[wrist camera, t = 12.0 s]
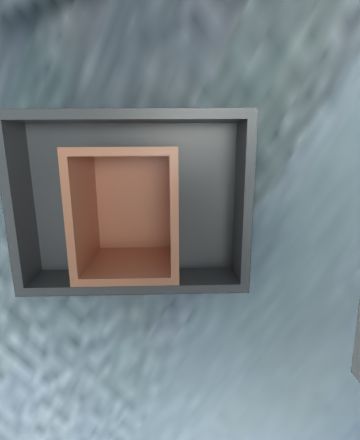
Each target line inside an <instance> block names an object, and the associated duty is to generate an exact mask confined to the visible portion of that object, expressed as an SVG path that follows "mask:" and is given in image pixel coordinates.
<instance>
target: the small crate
mask: <svg viewBox="0 0 360 440" xmlns="http://www.w3.org/2000/svg"><path fill="white" fill-rule="evenodd" d="M57 153H58V164H59V174H60V184H61V195H62V205H63V216H64V226H65V236H66V247H67V257H68V267H69V278H70V287H110V286H169V285H179V175H178V147H177V146H175V147H57Z"/></svg>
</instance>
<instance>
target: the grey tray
mask: <svg viewBox="0 0 360 440" xmlns="http://www.w3.org/2000/svg"><path fill="white" fill-rule="evenodd" d="M257 125H258V108H68V109H0V192H1V199H2V206H3V213H4V220H5V227H6V234H7V242H8V249H9V256H10V263H11V270H12V277H13V284H14V291H15V297H33V296H89V295H146V294H202V293H249V284H250V264H251V244H252V224H253V204H254V185H255V165H256V145H257ZM175 146H177V147H178V175H179V285H169V286H110V287H70V278H69V267H68V257H67V247H66V236H65V226H64V216H63V205H62V195H61V184H60V174H59V164H58V153H57V147H175Z"/></svg>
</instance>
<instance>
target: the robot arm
mask: <svg viewBox="0 0 360 440" xmlns="http://www.w3.org/2000/svg"><path fill="white" fill-rule="evenodd" d="M351 372H352V374H353V375H354V376H355V377H356V379H357V380H358V381H359V382H360V301H359V310H358V318H357V326H356V334H355V342H354V351H353V359H352V367H351Z"/></svg>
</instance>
